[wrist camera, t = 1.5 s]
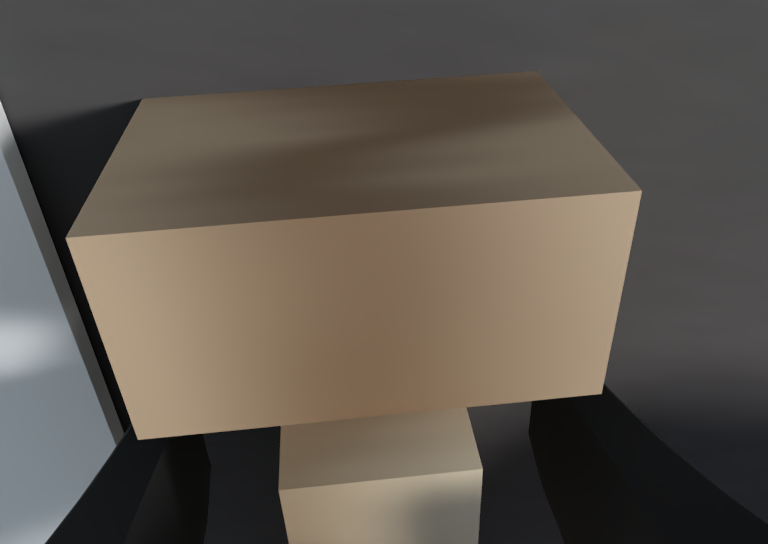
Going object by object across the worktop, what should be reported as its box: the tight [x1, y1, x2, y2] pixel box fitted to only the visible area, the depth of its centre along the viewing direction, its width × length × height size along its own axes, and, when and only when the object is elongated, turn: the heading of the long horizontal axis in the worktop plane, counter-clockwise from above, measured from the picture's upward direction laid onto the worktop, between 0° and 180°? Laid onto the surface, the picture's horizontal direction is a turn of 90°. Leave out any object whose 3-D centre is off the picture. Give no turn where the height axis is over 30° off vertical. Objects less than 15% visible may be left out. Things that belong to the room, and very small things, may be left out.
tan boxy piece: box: [66, 71, 642, 544], centre depth 12 cm, size 6×14×5 cm, turn 2°
